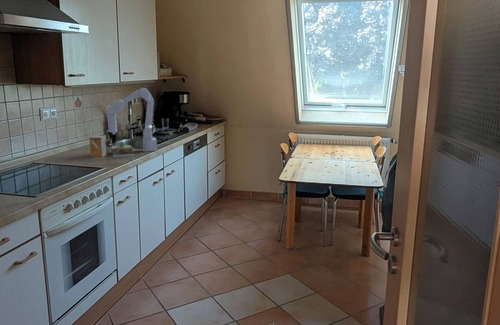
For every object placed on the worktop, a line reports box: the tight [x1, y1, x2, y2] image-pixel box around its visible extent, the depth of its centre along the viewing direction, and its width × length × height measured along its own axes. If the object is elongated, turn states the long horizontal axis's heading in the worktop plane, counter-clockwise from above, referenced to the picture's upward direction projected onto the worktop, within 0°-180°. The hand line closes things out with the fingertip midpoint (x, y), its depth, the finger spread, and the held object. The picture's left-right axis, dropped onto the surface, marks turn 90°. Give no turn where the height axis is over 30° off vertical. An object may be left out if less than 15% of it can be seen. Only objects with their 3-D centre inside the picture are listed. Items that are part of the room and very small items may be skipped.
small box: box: [89, 135, 107, 158], centre depth 275 cm, size 8×6×13 cm
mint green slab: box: [110, 141, 133, 151], centre depth 283 cm, size 13×8×4 cm, turn 114°
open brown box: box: [110, 147, 133, 155], centre depth 284 cm, size 13×11×4 cm
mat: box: [112, 152, 136, 159], centre depth 275 cm, size 14×9×1 cm, turn 114°
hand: (113, 143), depth 287 cm, fingers closed
